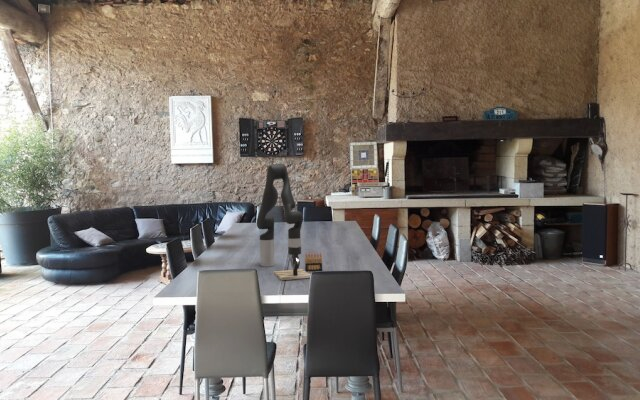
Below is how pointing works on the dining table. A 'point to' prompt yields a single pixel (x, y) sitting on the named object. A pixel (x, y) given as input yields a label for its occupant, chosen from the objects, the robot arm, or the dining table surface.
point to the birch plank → (291, 276)
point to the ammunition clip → (312, 265)
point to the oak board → (288, 272)
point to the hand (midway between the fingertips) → (295, 275)
